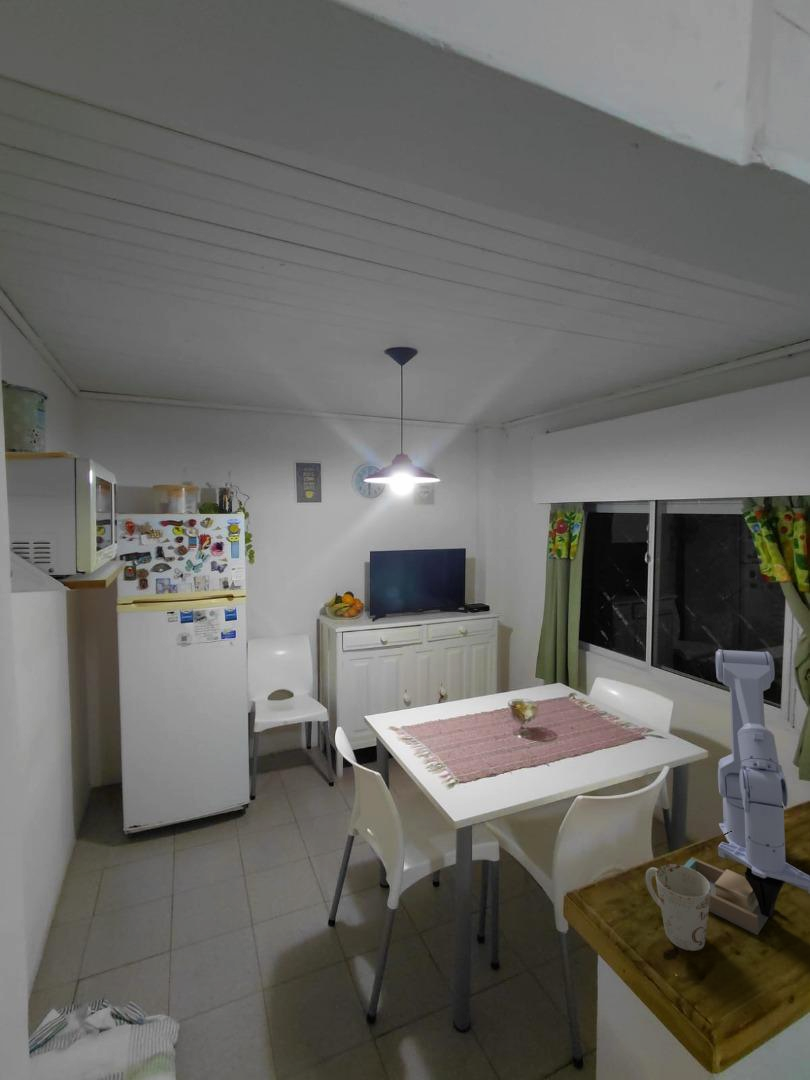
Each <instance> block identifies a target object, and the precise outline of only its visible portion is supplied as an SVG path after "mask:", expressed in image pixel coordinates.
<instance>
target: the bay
mask: <svg viewBox="0 0 810 1080" xmlns="http://www.w3.org/2000/svg"><path fill="white" fill-rule="evenodd" d="M683 866H686V867H689V868H691V869H693V870H695V871H697V872H699V873H700V874H702V875H703V876H704V877H705V878H706V879H707V880H708V882H709V884H710V887H711V894H710V903H709V912H710V913H713V914H714V915H717V916H718V917H720V918H722V919H723V920H726V921H728V922H730V923H732V924H734V925H737V926H739V927H741V928H743V929H744V930H747V931H748V932H749V933H752V934H754V935H757V936H758V935H759V933H760V931H761V930H762V929H763V927H764V926H765V924H766V922H768V919H769V918H768V917H766V916H764V915H762V914H761V911H760V907H759V904H758V905H757V907H756V908H755V910H754V911H753V913H752V912H750V911H748V910H746V909H744V908H741V907H739V906H737V905H735V904H733V903H731V902H729V901H727V900H725V899H722V898H720V897H718V896H716V887H715V882H716V881H717V880H718V879H719V878H720V876H721V875H722V874H723V873H724V872H725V870H724V869H721V868H719V867H716V866H714V865H713V864H709V863H707V862H705V861H703V860H700V859H698V858H696V857H694V856H692V857H690V859H688V860H687V861H686V862H685V864H683Z"/></svg>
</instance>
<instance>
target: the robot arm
mask: <svg viewBox="0 0 810 1080" xmlns="http://www.w3.org/2000/svg"><path fill="white" fill-rule="evenodd" d="M714 657H715V659H714V660H715V673H716V679H717V681H718V682H720V683H722V684H723V685H724V686H725V687H727V688H728V689H729V694H730V695H729V699H730V701H729V702H730V704H729V705H730V725H731V726H730V727H731V728H730V729H731V753H730V754H728V755H726V756H724V757H722V758H720V759H719V761H717V763H718V765H717V766H718V769H717V784H718V792H719V795H720V796H721V798H722V813H723V822H719V823H718V826H719V828H720V830H721V831H722V834H723V835H724V834H725V833H727V832H729V833H728V834H726V835H724V837H725V839H726V841H727V842H724V841H721V842H720V843H719V845H718V846H717V852H718V857H719V858H723V859H726V858H728V859H730V860H732V861H734V862H737V863H740V864H742V865H743V866H745V867H746V871H745V872H744V877H745V878H746V880H747V881H748V883H749V884H750V886H751V888H752V889H753V891H754V894H755V896H756V898H757V901H758V904H759V907H760V911H761V914H762V915H764V916H766V917H768V919H770V918H772V916H773V915H774V913H775V906H776V902H777V898H778V896H779V894H780V892H781V890H782V887H784V884H785V883H788V884H790V885H792V886H795V887H797V888H800V889H802V890H805V891H806V892H807V893H808V895H810V875H809V874H807V873H805V872H803V871H801V870H800V869H798V868H796V867H794V866H793V865H791V864H789V863H788V862H786V839H785V838H786V837H785V835H786V833H785V811H784V809H785V808H787V807H788V800H789V792H788V791H789V790H788V784H787V779H786V777H785V774H784V771H783V767H782V765H781V764H779V763H780V762H779V758H778V753H777V746H776V741H775V735H774V733H773V732H772V731H770V730H769V729H768V728H767V727H766V724H765V723H766V722H765V706H764V705H765V703H764V702H765V701H764V691H767V690H768V689H770V688H771V685H772V682H773V681H775V662H774V657H773V655H772V653H770V652H769V651H752V650H751V651H748V650H731V649H729V650H727V649H721V648H719V649H717V651H715V656H714ZM730 831H732V832H730ZM728 842H729V843H728Z"/></svg>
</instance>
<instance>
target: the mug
mask: <svg viewBox="0 0 810 1080" xmlns="http://www.w3.org/2000/svg"><path fill="white" fill-rule="evenodd" d="M654 877H655V881H656V882H655V883H656V887H657V893H656V891H655V889H654V887H653V883H652V880H653V878H654ZM645 884H646V887H647V890H648V892H649V893H650V895H651V898H653V900H654V902H655V904H656V905H657V906H658V907H660V910H661V911H660V912H661V916H662V923H663V927H664V932H665V935H666V938H667V939H668V941H670V942H671V943H672V944H673V945H674V946H676V947H678V948H680V949H683V950H685V951H689V950H690V951H691V952H694V951H696V952H697V951H699V950H702V949H703V948H704V947H705V944H706V938H707V937H706V936H707V928H708V919H709V912H710V911H709V903H710V894H711V887H710V884H709V882H708V880H707V879H706V878H705V877H704V876H703V875H702V874H700V873H699V872H697V871H695V870H693V869H691V868H689V867H686V866H684V865H680V864H674V863H672V864H671V863H670V864H664V865H661V866H660V867H658V868H657V867H650V868H648V869H647V870H646V872H645ZM657 894H658V895H657Z"/></svg>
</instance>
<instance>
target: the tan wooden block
mask: <svg viewBox="0 0 810 1080" xmlns="http://www.w3.org/2000/svg"><path fill="white" fill-rule="evenodd" d="M724 871H725V872H724V873H723V874H722V875H721V876H720V878H719V879H718V880H717V881H716V882H715V887H716V896H718V897H720V898H722V899H725V900H727V901H729V902H731V903H733V904H735V905H737V906H739V907H741V908H744V909H746V910H748V911H750V912H752V913H753V911H754V910H755V908H756V907H757V905H758V901H757V898H756V896H755V894H754V891H753V889H752V888H751V886H750V884H749V883H748V881H747V880H746V878H745V875H744V876H743V875H742V874H739V873H737V872H735V871H732V870H730V869H728V868H726V869H725V870H724Z"/></svg>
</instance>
